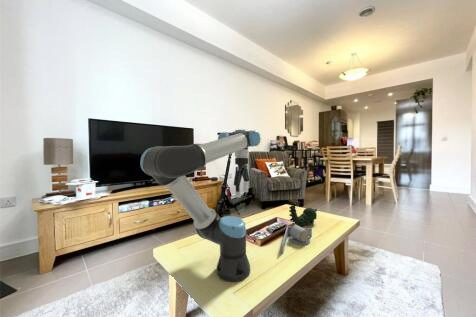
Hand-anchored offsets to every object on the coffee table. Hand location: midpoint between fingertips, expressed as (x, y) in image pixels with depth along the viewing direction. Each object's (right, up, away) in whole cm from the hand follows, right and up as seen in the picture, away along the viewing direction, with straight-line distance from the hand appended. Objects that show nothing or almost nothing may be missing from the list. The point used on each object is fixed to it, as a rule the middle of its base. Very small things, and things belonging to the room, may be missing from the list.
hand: (242, 194), depth 116 cm
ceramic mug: (+35, -28, +5) cm, 45 cm away
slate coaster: (+34, -28, +4) cm, 44 cm away
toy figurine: (+45, -27, +30) cm, 60 cm away
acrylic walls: (+32, -28, 0) cm, 42 cm away
